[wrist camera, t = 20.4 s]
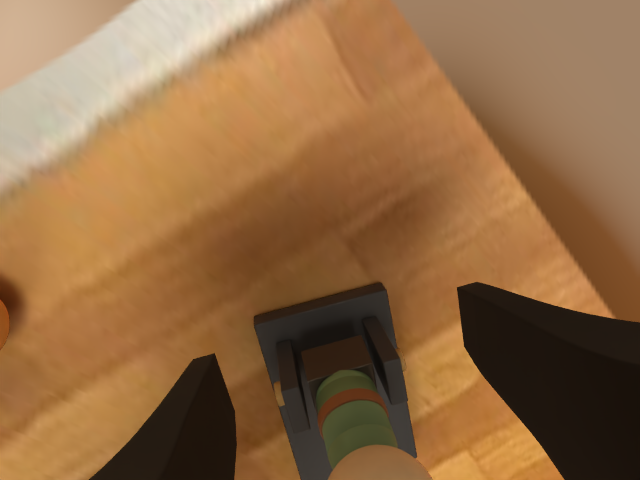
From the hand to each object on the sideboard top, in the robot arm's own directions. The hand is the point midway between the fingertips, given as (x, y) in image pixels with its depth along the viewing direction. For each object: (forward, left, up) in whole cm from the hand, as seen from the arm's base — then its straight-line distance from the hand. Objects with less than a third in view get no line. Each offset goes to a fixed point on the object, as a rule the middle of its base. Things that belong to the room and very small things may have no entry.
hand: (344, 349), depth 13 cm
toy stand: (-9, -2, -10) cm, 14 cm away
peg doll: (-6, -1, -8) cm, 10 cm away
